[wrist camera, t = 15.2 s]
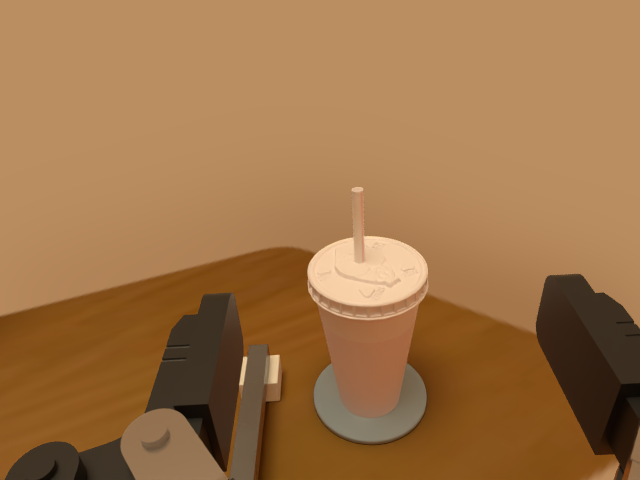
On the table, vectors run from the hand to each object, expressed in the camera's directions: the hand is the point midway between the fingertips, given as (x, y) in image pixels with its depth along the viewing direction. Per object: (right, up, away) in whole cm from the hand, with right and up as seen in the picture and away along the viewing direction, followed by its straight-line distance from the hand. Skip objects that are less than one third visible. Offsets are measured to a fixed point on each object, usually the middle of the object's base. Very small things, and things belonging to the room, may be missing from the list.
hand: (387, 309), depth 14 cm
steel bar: (-6, -9, +16) cm, 19 cm away
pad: (+1, -8, +19) cm, 21 cm away
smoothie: (+1, -8, +19) cm, 21 cm away
